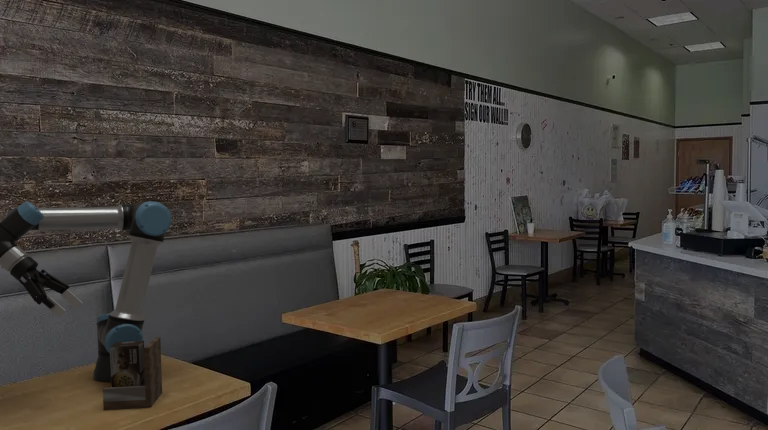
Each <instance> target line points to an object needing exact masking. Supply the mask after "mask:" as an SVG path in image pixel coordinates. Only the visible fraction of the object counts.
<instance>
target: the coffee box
mask: <svg viewBox="0 0 768 430" xmlns="http://www.w3.org/2000/svg"><path fill="white" fill-rule="evenodd" d="M144 348H145V341H144V340H143V341H128V342H116V343H114V344H113V345H112V346H111V347H110V364H111V381H110V382H111V385H110V386H111V387H130V386H145V369H144Z"/></svg>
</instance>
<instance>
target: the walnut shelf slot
mask: <svg viewBox="0 0 768 430" xmlns="http://www.w3.org/2000/svg"><path fill="white" fill-rule="evenodd" d="M161 343H162V342H161V337H155V338H153V339H152V341H150V342H149V343H148V344H147V345H146V346H144V369H145V386H130V387H112V386H111V387H103V388H102V404H103V406H102V410H103V411H110V410H109V409H114V410H127V409H129V410H130V409H131V408H132V409H146V408H147V409H148V408H152V407H153V405H154V404H155V403H156V402H157V400H158V399H159V397H160V396H161V395H162V394H163V383H162V382H163V381H162V375H163V373H162V351H161V350H162V347H161Z"/></svg>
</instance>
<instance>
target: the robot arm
mask: <svg viewBox="0 0 768 430" xmlns="http://www.w3.org/2000/svg"><path fill="white" fill-rule="evenodd" d="M171 224H172V214H171V211H170V210H169V208H168V207H166V206H165V204H162V203H160V202H158V201H152V200H150V201H140V202H136V203H135V202H134V203H125V204H118V205H117V206H116V207H115V206H114V207H113V206H110V207H108V206H107V207H105V206H102V207H41V208H40V207H38V208H37V207H36V206H35V205H34V204H32V203H31V202H30V201H25V202H23V203H22V204H20V205H19V206H17V207H16V208H12V209H11V210H10V211H9V212H8V214H7V215H6V217H5V218H3V219H2V220H1V221H0V268H1V269H4V270H5V271H7V272H9V274H10V275H11V276H12V277H13V278H14V279H15V280H17V281H18V282H19V283H20V284H21V285H22V286H23V287H24V289H25V290H26V292H27V293H28V295H29V296H30V297H31V298H32V300H33V301H34V303H36V304H37V305H41V304H42V305H44V306H45V307H46V308H47V309H48V310H49V311H50V312H52V313H53V314H54V315H56V317H58V318H61V316H62V315H63V314H64V313H65V312H67V310H66V309H65V308H64V307H63V306H61V304H59V303H58V302H57V301H56V300H55V299H53V297H51V295H49V296H48V295H47V293H46V291H45V289H44V288H48V289H49V290H52V291H53V292H56V293H58V294H60V296H61V298H63V299H64V300H66V302H68V303H69V304H70V305H71V306H72V307H73V308H75V310H78V308H79V307H80V306H81V305H82V304H83V303H84V302H83V301H82V300H81V299H80V298H78V297H77V296H76V295H75V294H74V293H73V292H71V291H70V290H69V288H70V286H69V285H68V284H67V283H64V282H63V281H62V280H60V279H58V278H57V277H55V276H53V275H52V274H50V273H49V272H47V271H46V270H45V269H41V270H39V269H37V268H38V267H39V263H38V262H37V261H36V260H35V259H34V258H33V257H32V256H29V254H28V253H27V252H26V251H25V250H24V249H22V248H21V247H20V246H19V245H18V244H17V243H16V242H17V241H19V240H20V239H21V238H22V237H24V236H25V235H26V234H28V232H29V231H52V230H53V231H59V230H90V229H91V230H93V229H96V230H97V229H98V230H99V229H102V230H103V229H118V231H120V232H121V231H122V232H123V231H124V232H126V231H127V232H128V237H129V239H130V241H131V243H130V248H129V252H128V257H127V259H126V263H125V268H124V272H123V273H124V274H123V276H122V280H121V281H122V282H121V284H120V289H119V292H118V296H117V301H116V305H115V309H114V310H112V311H110V312H109V313H103V314H99V315H97V317H96V326H97V327H96V328H97V329H96V330H97V359H96V363H95V366H94V369H93V380H95V381H98V382H111V364H110V347H111V346H112V345H113V344H114V343H116V342H128V341H144V336H143V335H144V334H143V327H144V324H145V317H144V315H143V314H142V311H143V308H144V304H145V300H146V295H147V291H148V287H149V282H150V279H151V274H152V272H153V271H152V270H153V266H154V263H155V260H156V259H155V257H156V253H157V250H158V247H159V246H160V245H162V244H163V243H164V241H165V237H166V232H167V231H168V230H169V229H170V227H171Z"/></svg>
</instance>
